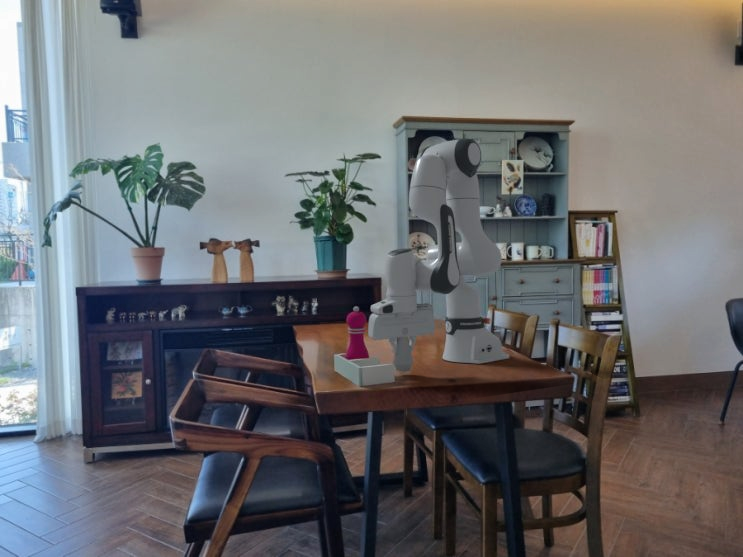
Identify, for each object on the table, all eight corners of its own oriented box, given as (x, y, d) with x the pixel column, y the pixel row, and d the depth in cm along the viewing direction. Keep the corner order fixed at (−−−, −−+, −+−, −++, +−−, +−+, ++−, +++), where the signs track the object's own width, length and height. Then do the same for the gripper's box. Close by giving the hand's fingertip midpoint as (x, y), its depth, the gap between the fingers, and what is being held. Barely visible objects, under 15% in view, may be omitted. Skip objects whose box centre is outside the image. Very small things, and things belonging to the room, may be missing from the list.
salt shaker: (413, 367, 148) (412, 324, 147) (413, 372, 142) (412, 327, 142) (393, 367, 149) (392, 324, 148) (393, 372, 143) (391, 327, 142)
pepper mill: (341, 373, 149) (339, 307, 148) (353, 368, 155) (351, 304, 154) (362, 376, 146) (360, 307, 145) (373, 371, 152) (372, 305, 151)
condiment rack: (366, 367, 157) (365, 351, 157) (394, 382, 138) (394, 364, 138) (334, 370, 153) (334, 354, 153) (359, 386, 134) (358, 368, 134)
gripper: (427, 301, 151) (429, 346, 152) (365, 306, 143) (366, 354, 144) (438, 303, 145) (439, 350, 146) (373, 308, 138) (375, 358, 138)
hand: (402, 352), depth 145 cm, fingers closed on salt shaker, 3 cm apart
